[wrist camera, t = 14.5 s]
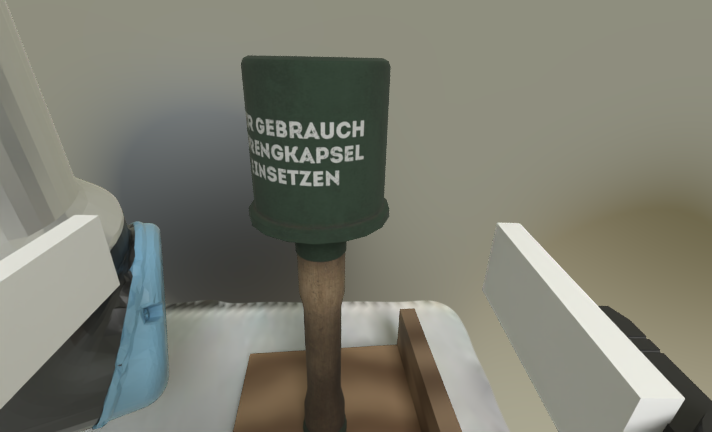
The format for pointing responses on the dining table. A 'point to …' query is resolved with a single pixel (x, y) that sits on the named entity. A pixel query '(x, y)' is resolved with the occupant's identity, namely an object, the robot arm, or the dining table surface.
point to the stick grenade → (318, 189)
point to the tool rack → (353, 388)
